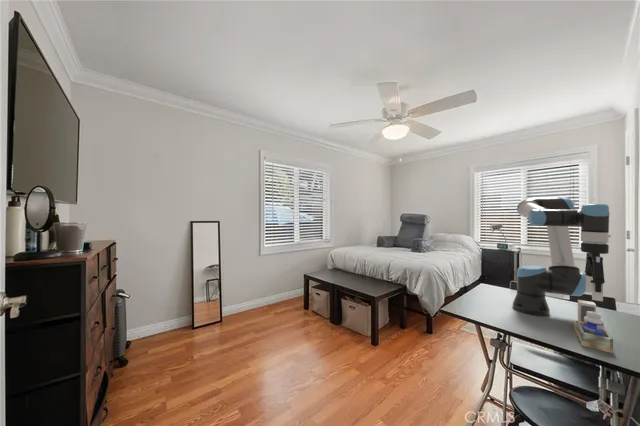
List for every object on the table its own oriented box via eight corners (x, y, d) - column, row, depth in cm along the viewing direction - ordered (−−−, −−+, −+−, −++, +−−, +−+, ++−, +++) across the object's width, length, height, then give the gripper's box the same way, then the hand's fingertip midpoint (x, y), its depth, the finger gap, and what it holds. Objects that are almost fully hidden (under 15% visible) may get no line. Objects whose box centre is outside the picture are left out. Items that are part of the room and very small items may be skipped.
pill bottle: (579, 334, 103) (579, 310, 103) (591, 333, 104) (591, 310, 104) (595, 340, 98) (595, 315, 98) (607, 340, 98) (607, 315, 98)
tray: (581, 345, 98) (582, 332, 98) (572, 324, 117) (572, 313, 117) (613, 353, 93) (613, 339, 93) (598, 329, 112) (598, 318, 112)
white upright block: (579, 325, 112) (579, 302, 112) (577, 321, 116) (577, 299, 116) (596, 328, 108) (596, 305, 109) (593, 324, 113) (593, 302, 113)
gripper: (617, 246, 89) (616, 307, 89) (601, 241, 108) (600, 290, 108) (586, 244, 94) (585, 302, 94) (576, 239, 113) (575, 287, 113)
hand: (593, 296), depth 101 cm, fingers open, 13 cm apart
